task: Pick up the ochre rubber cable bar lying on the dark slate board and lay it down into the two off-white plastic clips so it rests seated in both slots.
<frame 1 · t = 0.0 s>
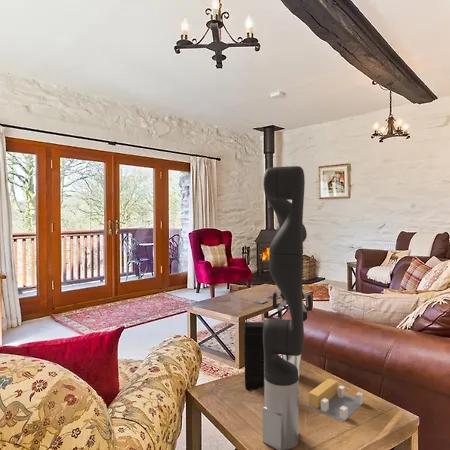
hand: (292, 319, 130), 22 cm above the table, tool pointing down, fingers open, 8 cm apart
portable radio: (255, 385, 126), on the table
route board: (334, 406, 112), on the table
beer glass: (291, 377, 132), on the table
cable bar: (323, 398, 115), point 1 cm above the table, touching route board
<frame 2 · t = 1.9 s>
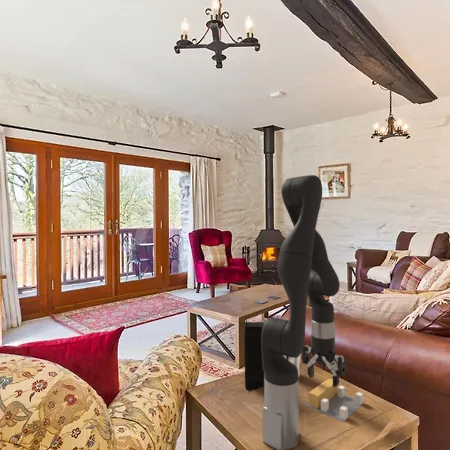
hand: (323, 381, 115), 6 cm above the table, tool pointing down, fingers open, 8 cm apart
nothing on the table moved.
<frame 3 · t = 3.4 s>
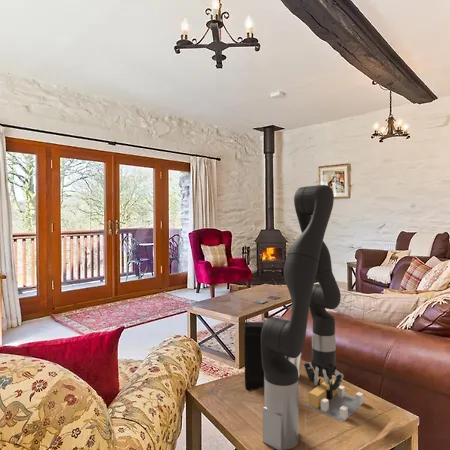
hand: (323, 397, 115), 1 cm above the table, tool pointing down, fingers closed on cable bar, 3 cm apart
cable bar: (323, 398, 115), point 1 cm above the table, touching gripper
everything else where it was.
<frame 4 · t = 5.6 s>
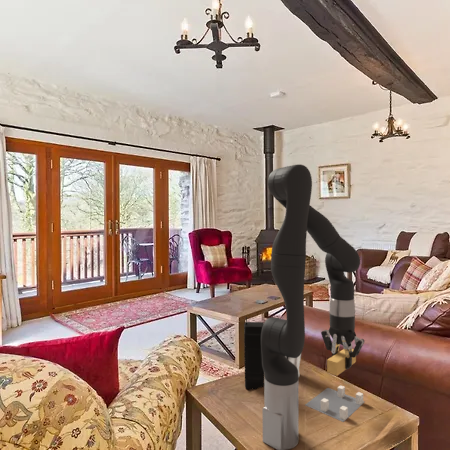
hand: (341, 366, 110), 14 cm above the table, tool pointing down, fingers closed on cable bar, 3 cm apart
cable bar: (341, 367, 110), point 14 cm above the table, touching gripper
everything else where it was.
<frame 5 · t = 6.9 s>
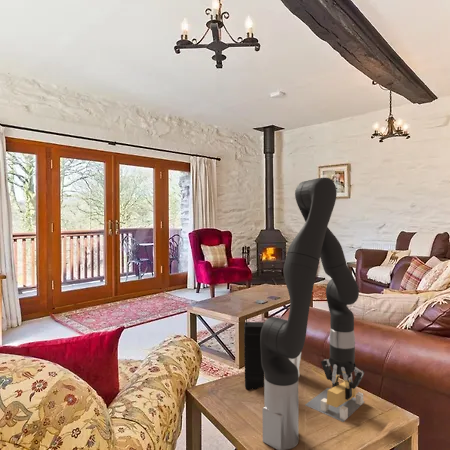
hand: (342, 396, 110), 4 cm above the table, tool pointing down, fingers closed on cable bar, 3 cm apart
cable bar: (341, 399, 110), point 3 cm above the table, tilted 7°, touching gripper
everything else where it was.
when the fingers open (3 cm above the table, at t = 7.8 s): cable bar stays where it is, resting on route board.
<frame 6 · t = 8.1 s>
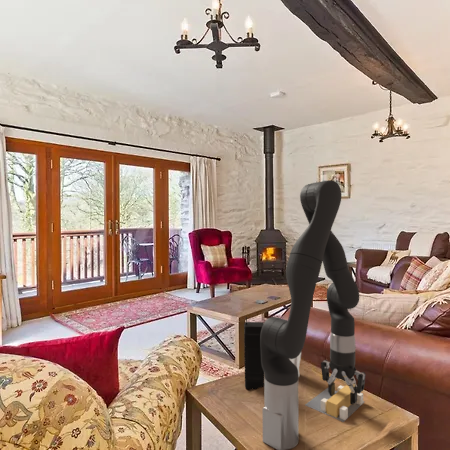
hand: (342, 399, 110), 3 cm above the table, tool pointing down, fingers open, 6 cm apart
cable bar: (341, 406, 110), point 1 cm above the table, touching route board
everything else where it was.
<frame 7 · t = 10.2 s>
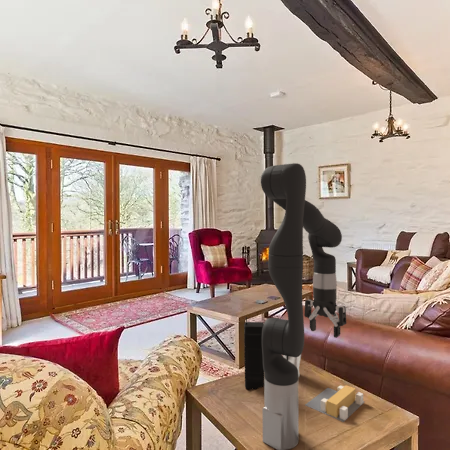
hand: (324, 333, 117), 22 cm above the table, tool pointing down, fingers open, 8 cm apart
nothing on the table moved.
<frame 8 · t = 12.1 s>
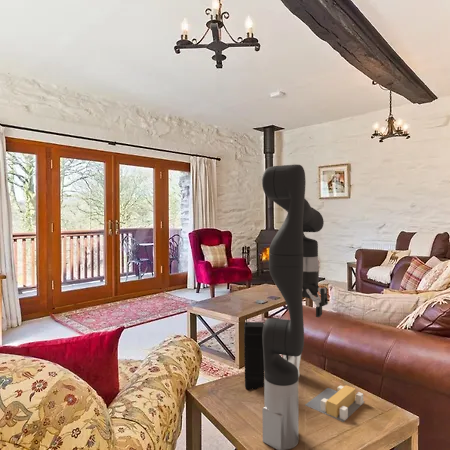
hand: (307, 314, 124), 26 cm above the table, tool pointing down, fingers open, 8 cm apart
nothing on the table moved.
at the end: cable bar 0.5 cm from the target spot on the route board, point 1.0 cm above the route board's base; cable bar tilted 0°; the gripper is holding nothing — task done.
